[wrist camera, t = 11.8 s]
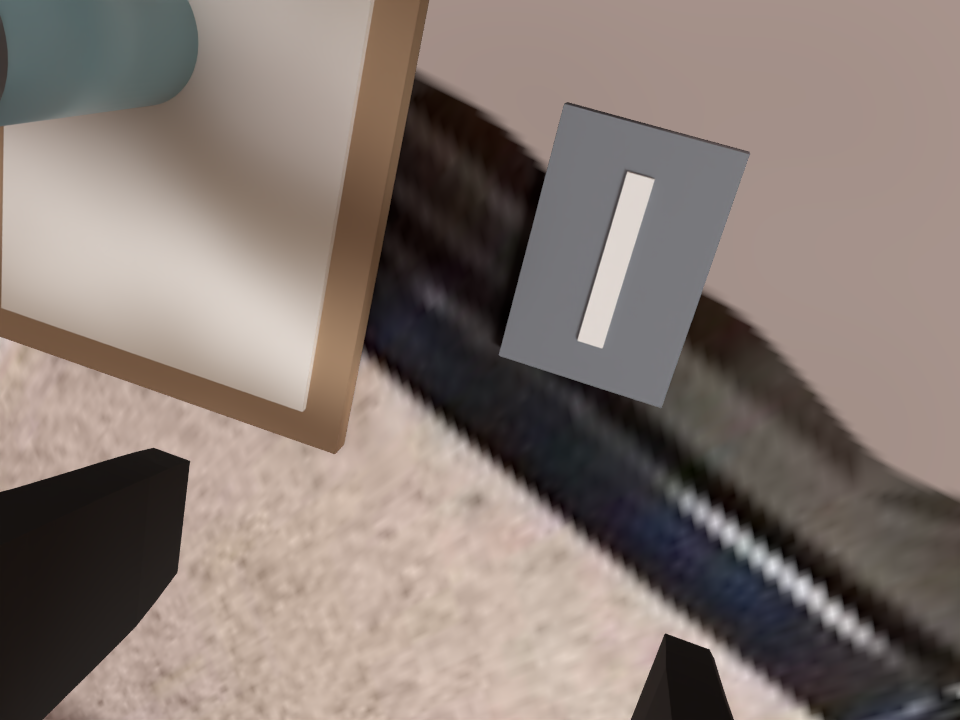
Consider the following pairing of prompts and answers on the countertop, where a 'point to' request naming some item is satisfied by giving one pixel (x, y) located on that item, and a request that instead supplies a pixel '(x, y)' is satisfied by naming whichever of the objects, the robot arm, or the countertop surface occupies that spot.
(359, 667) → the countertop surface
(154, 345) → the clipboard
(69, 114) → the tumbler
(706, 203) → the plate
